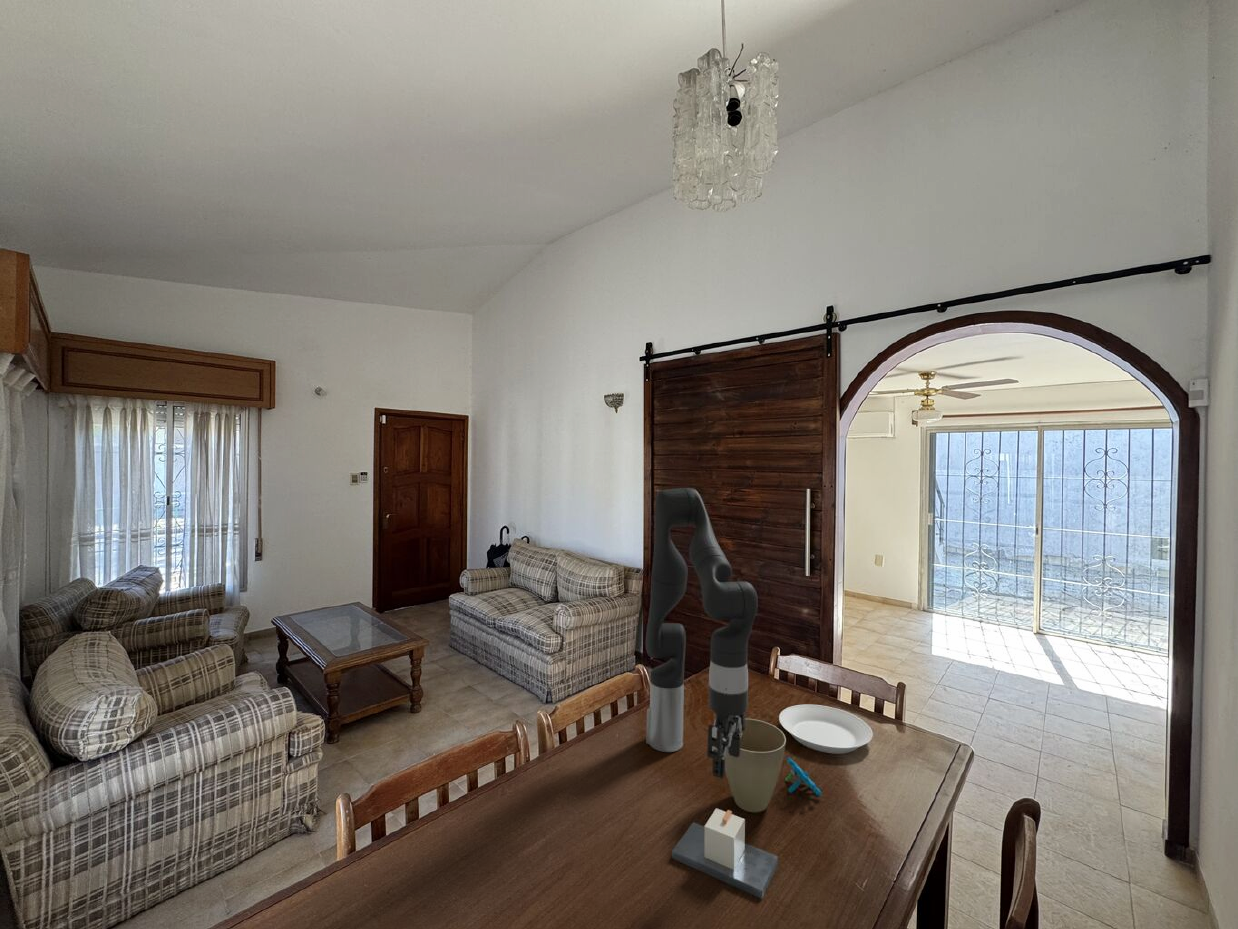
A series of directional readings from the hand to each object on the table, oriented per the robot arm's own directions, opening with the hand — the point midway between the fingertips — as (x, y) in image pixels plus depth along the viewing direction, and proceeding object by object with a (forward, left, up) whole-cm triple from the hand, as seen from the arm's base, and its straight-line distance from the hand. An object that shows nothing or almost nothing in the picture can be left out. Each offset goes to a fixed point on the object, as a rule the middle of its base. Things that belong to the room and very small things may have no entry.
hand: (726, 765), depth 106 cm
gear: (+7, +32, -19) cm, 38 cm away
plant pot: (-2, +20, -19) cm, 28 cm away
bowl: (+7, +61, -19) cm, 65 cm away
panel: (0, 0, -19) cm, 19 cm away
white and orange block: (0, 0, -17) cm, 17 cm away
